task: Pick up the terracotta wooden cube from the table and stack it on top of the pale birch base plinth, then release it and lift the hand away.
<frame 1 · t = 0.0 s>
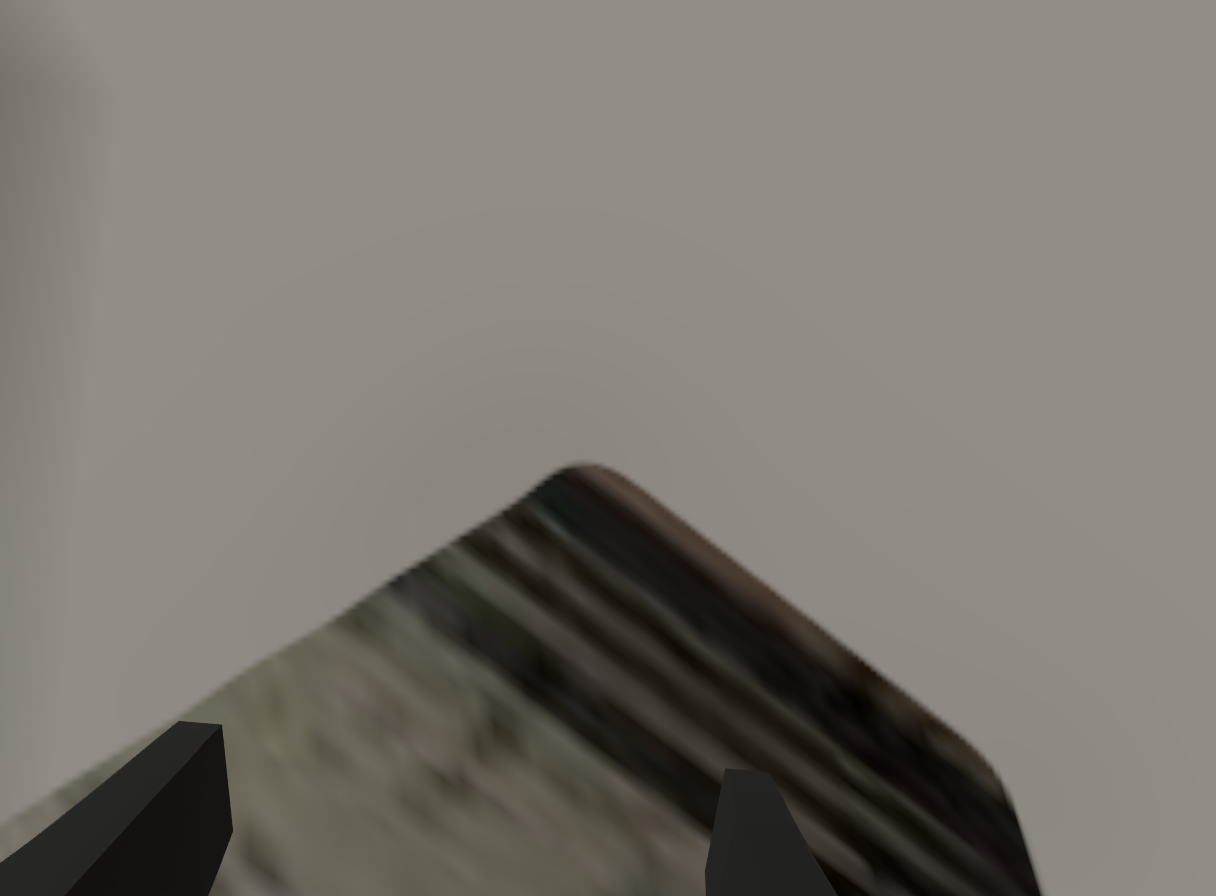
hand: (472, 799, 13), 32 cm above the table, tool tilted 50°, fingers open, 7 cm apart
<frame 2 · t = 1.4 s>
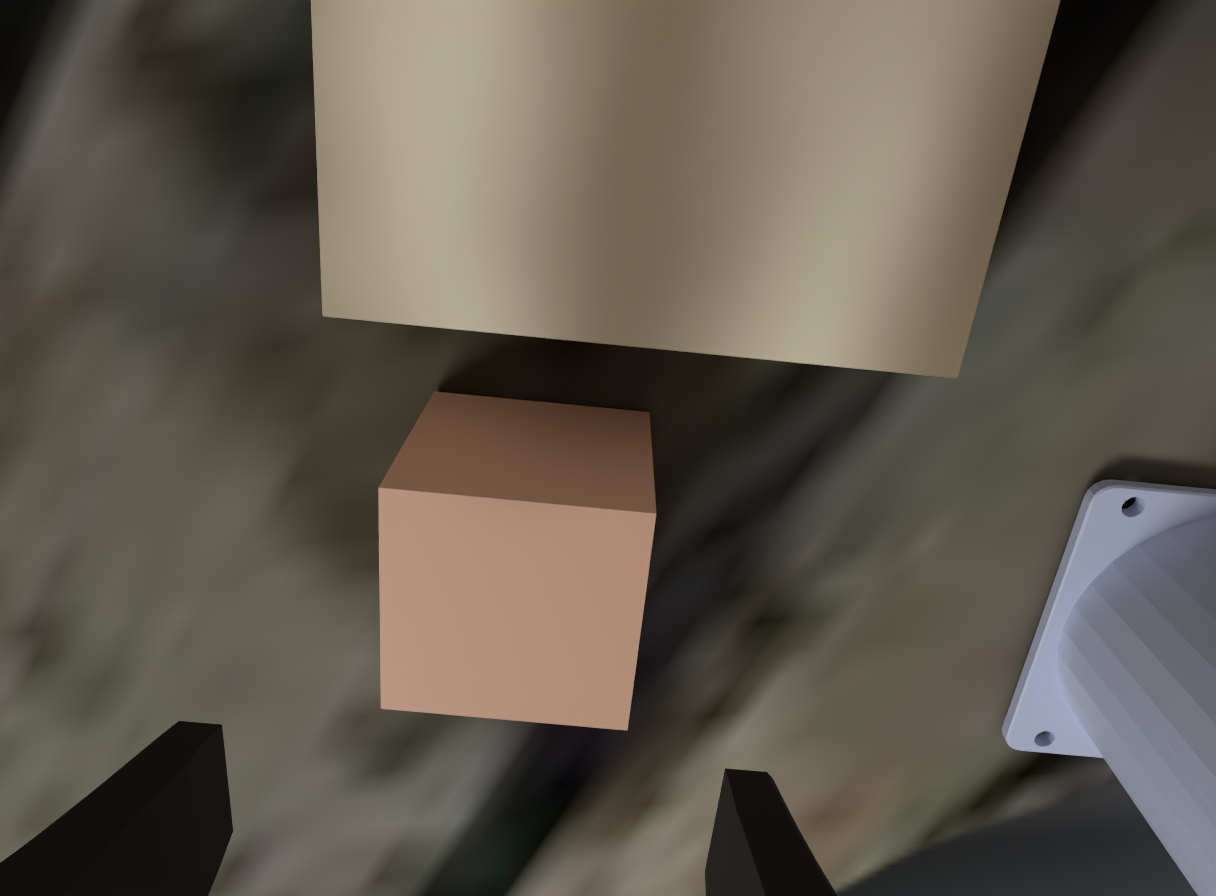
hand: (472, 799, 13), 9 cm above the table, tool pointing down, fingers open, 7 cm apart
birch base: (674, 1, 17), on the table
terracotta cube: (535, 497, 21), on the table
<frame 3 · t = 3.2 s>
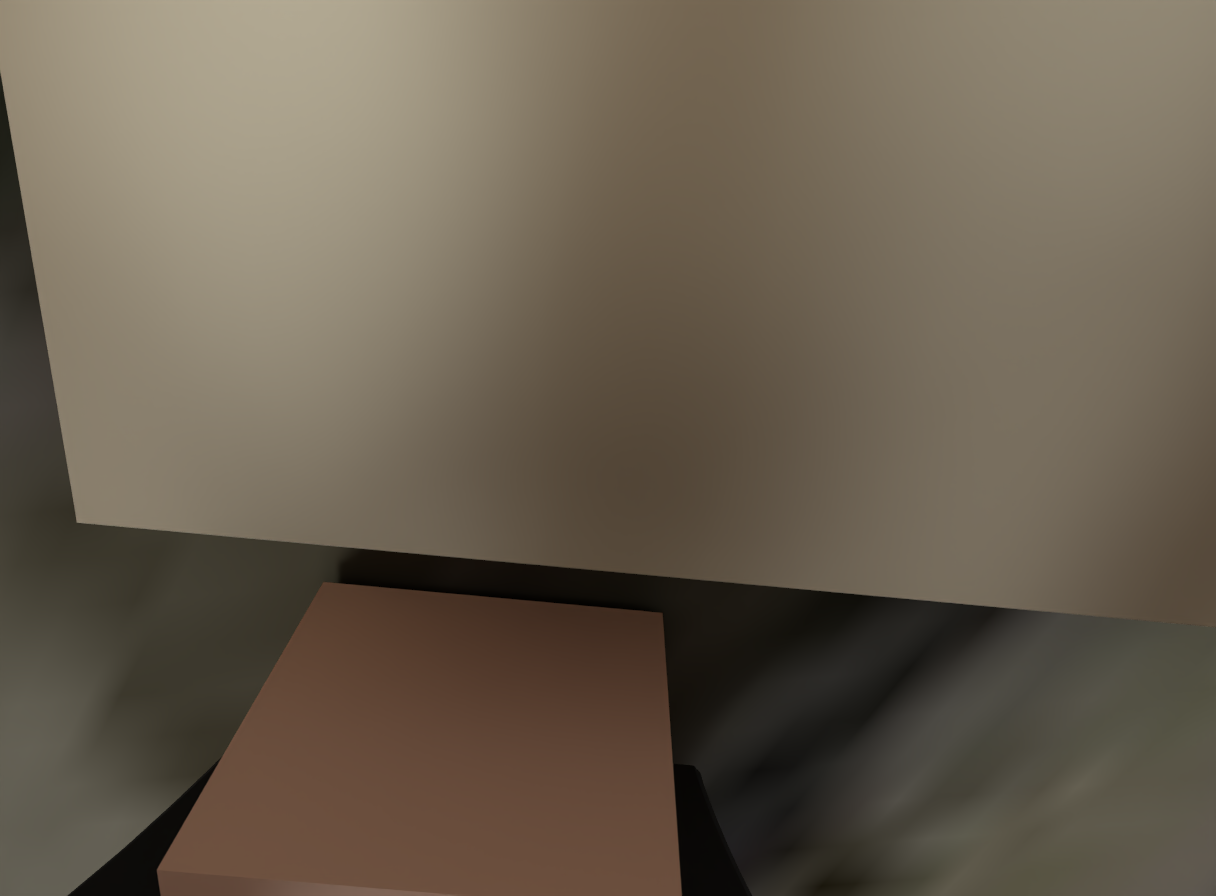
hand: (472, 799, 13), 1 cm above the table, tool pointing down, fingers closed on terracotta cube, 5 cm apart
terracotta cube: (486, 729, 14), on the table, touching gripper
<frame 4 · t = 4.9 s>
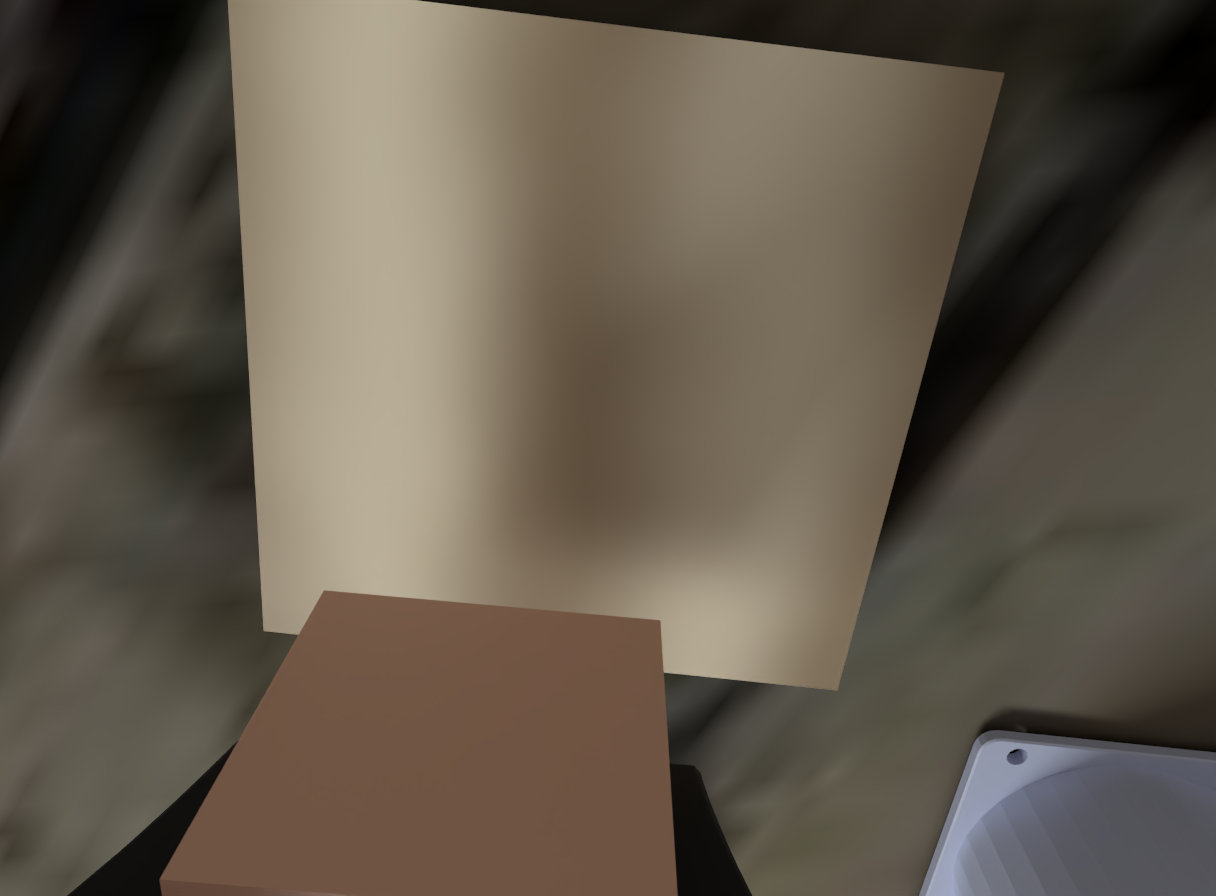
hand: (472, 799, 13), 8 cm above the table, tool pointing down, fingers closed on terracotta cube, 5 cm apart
birch base: (588, 342, 19), on the table
terracotta cube: (486, 736, 14), point 7 cm above the table, touching gripper
when the fingers open (6 cm above the table, at t = 6.6 s): terracotta cube drops 1 cm, resting on birch base.
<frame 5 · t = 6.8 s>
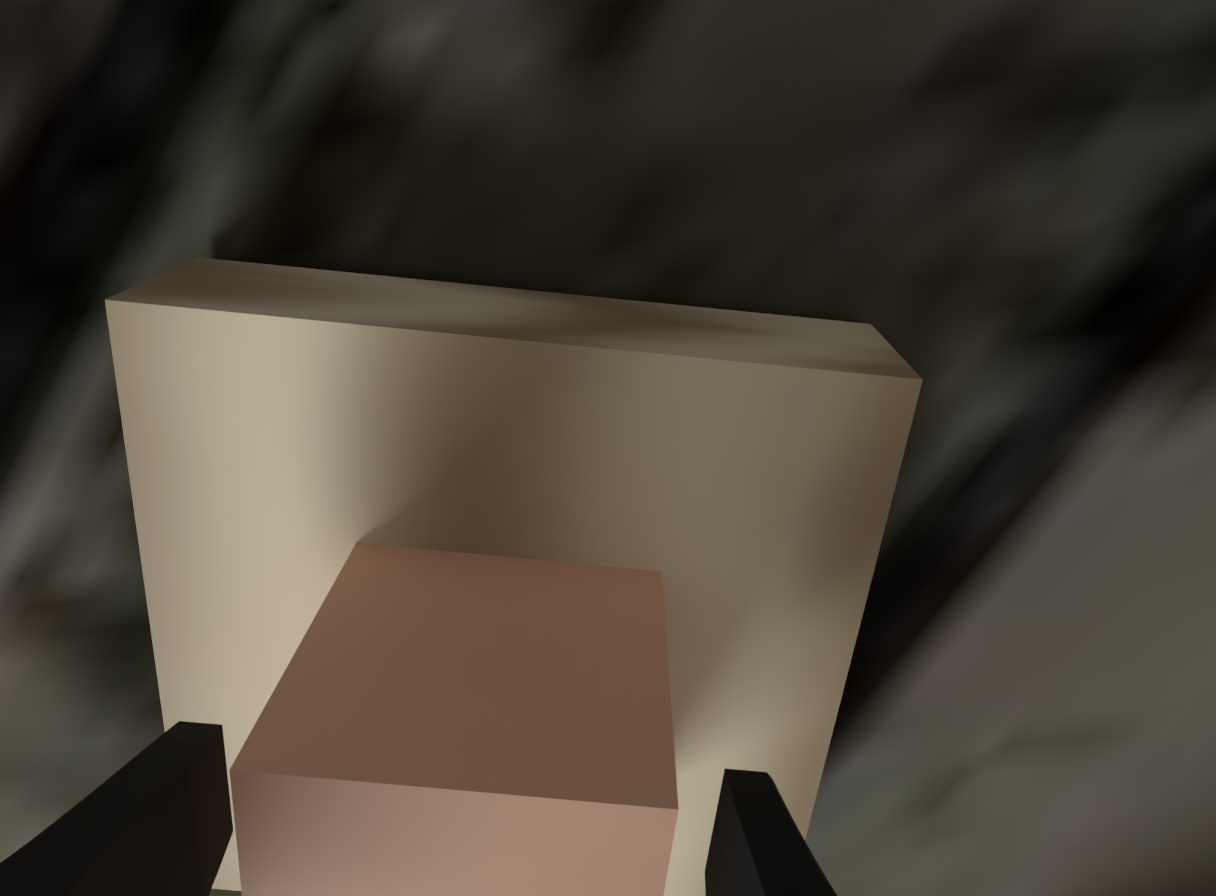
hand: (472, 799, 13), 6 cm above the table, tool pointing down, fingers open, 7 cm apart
birch base: (518, 577, 18), on the table
terracotta cube: (501, 680, 15), point 3 cm above the table, touching birch base
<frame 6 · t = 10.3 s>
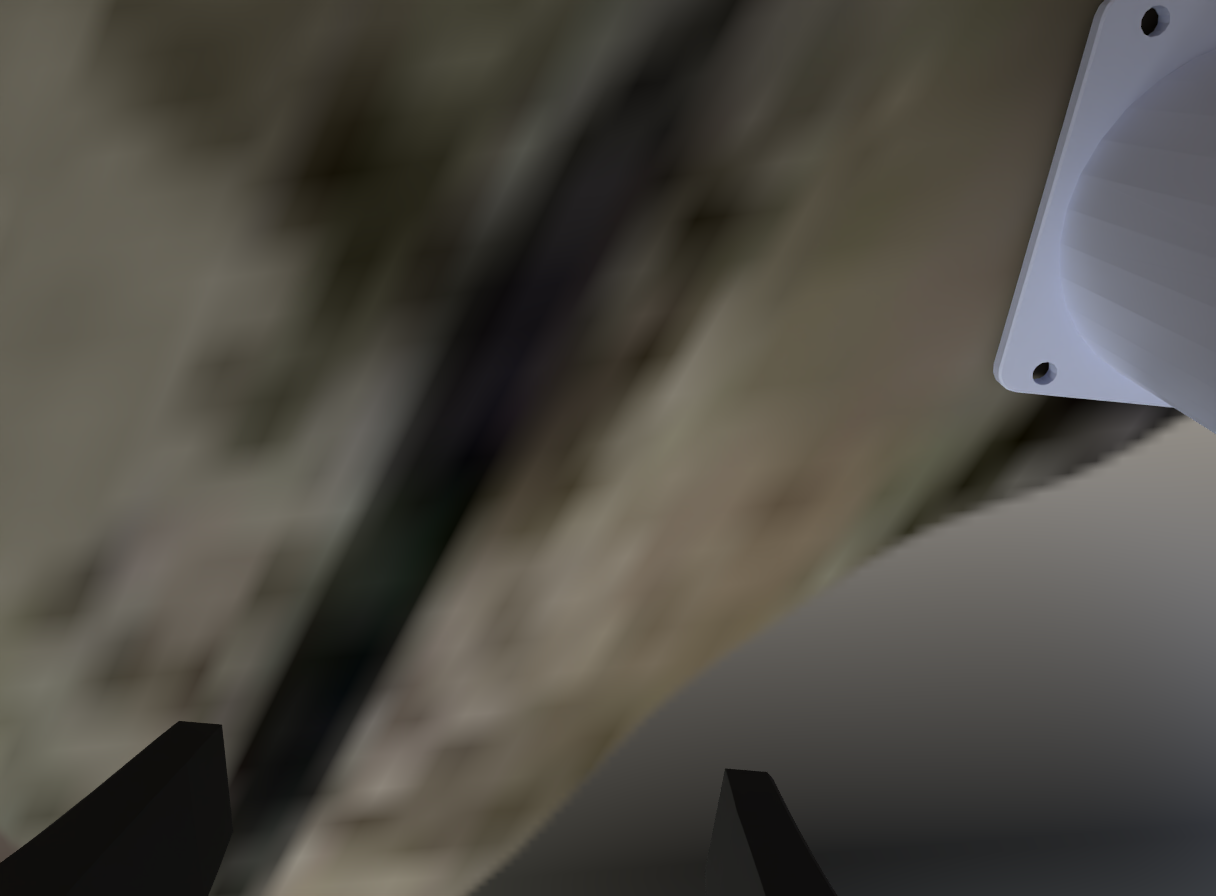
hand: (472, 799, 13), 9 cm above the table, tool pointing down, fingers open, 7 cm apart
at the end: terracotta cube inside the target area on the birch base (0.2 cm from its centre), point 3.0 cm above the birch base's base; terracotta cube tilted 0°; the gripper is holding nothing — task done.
